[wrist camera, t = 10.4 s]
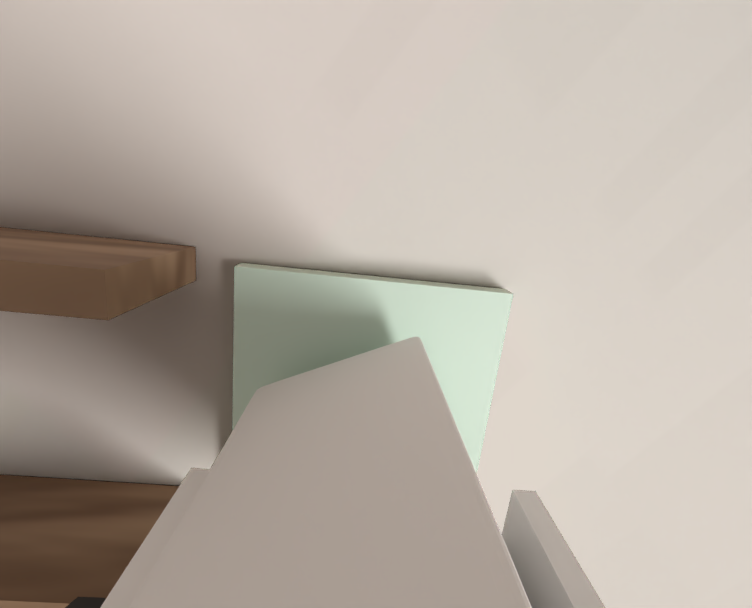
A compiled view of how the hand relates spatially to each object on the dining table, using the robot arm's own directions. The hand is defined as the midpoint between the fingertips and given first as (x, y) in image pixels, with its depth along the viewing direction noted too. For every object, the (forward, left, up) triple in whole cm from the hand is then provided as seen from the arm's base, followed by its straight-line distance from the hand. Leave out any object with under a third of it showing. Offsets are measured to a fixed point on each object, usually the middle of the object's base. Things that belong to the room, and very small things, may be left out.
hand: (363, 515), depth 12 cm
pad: (0, 0, -7) cm, 7 cm away
